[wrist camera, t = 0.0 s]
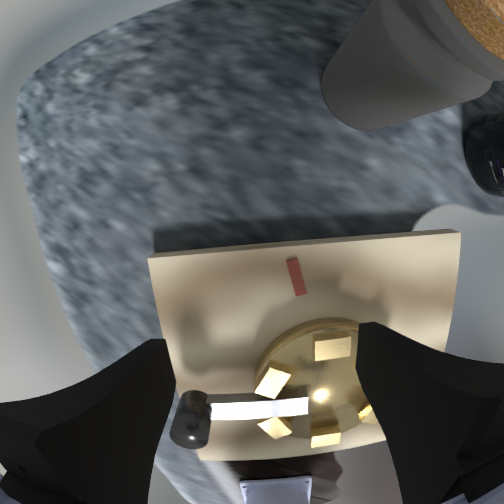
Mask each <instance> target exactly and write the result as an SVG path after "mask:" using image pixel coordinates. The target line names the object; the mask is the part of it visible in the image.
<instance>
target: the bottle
mask: <svg viewBox="0 0 504 504" xmlns="http://www.w3.org/2000/svg"><path fill="white" fill-rule="evenodd" d="M493 80H494V81H504V0H373V1H372V2H371V3H370V5H369V6H368V7H367V9H366V10H365V12H364V13H363V14H362V16H361V17H360V18H359V20H358V21H357V23H356V24H355V25H354V27H353V28H352V30H351V31H350V32H349V34H348V35H347V37H346V38H345V40H344V41H343V42H342V44H341V45H340V47H339V48H338V50H337V51H336V53H335V54H334V56H333V57H332V59H331V60H330V62H329V63H328V65H327V67H326V68H325V70H324V73H323V76H322V82H321V88H322V94H323V97H324V100H325V102H326V104H327V106H328V108H329V109H330V110H331V112H332V113H333V114H334V115H335V116H336V117H337V118H338V119H339V120H340V121H342V122H343V123H345V124H346V125H348V126H350V127H352V128H355V129H359V130H366V131H371V130H378V129H381V128H384V127H388V126H391V125H394V124H397V123H400V122H403V121H406V120H409V119H412V118H415V117H418V116H422V115H425V114H428V113H431V112H434V111H438V110H441V109H444V108H447V107H450V106H454V105H457V104H460V103H464V102H467V101H471V100H473V99H476V98H478V97H481V96H482V95H484V94H485V93H486V92H487V91H488V90H489V89H490V87H491V85H492V83H493Z"/></svg>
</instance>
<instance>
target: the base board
mask: <svg viewBox="0 0 504 504" xmlns="http://www.w3.org/2000/svg"><path fill="white" fill-rule="evenodd" d="M460 242H461V232H458V231H455V230H452V229H443V230H442V229H441V230H428V231H414V232H400V233H387V234H374V235H361V236H348V237H335V238H323V239H310V240H298V241H286V242H274V243H262V244H250V245H238V246H227V247H215V248H204V249H192V250H181V251H170V252H159V253H154V254H153V255H151V256H150V257H149V258H148V264H149V270H150V276H151V281H152V286H153V291H154V296H155V301H156V306H157V311H158V316H159V320H160V325H161V329H162V333H163V338H164V339H166V343H167V347H168V351H169V355H170V359H171V363H172V367H173V371H174V374H175V378H176V387H177V391H178V394H179V398H180V397H181V395H182V394H183V393H184V392H186V391H189V390H199V391H202V392H205V393H206V394H234V393H253V392H254V375H255V369H256V366H257V363H258V361H259V359H260V357H261V355H262V353H263V352H264V351H265V349H266V348H267V347H268V346H269V345H270V343H271V342H272V341H274V340H275V339H276V338H277V337H278V336H279V335H281V334H282V333H284V332H285V331H287V330H289V329H290V328H292V327H294V326H296V325H299V324H301V323H304V322H307V321H310V320H314V319H319V318H329V317H337V318H346V319H351V320H354V321H357V322H359V323H366V322H373V321H375V322H377V323H380V324H382V325H384V326H386V327H388V328H390V329H392V330H394V331H396V332H398V333H400V334H402V335H404V336H406V337H408V338H410V339H412V340H415V341H417V342H419V343H421V344H424V345H426V346H428V347H431V348H433V349H436V350H439V351H442V352H444V351H445V346H446V342H447V338H448V333H449V328H450V323H451V317H452V312H453V305H454V298H455V292H456V284H457V276H458V267H459V256H460ZM383 440H386V437H385V435H384V433H383V430H382V428H381V426H380V424H379V422H378V421H377V423H376V424H371V423H366V422H363V423H361V424H359V425H358V426H356V427H354V428H352V429H350V430H348V431H346V432H343V433H341V436H340V443H339V444H333V445H327V446H321V447H314V448H311V444H310V439H303V438H295V437H291V436H287V435H285V436H283V437H281V438H278V439H276V440H275V439H274V438H273V437H272V436H270V435H269V434H268V433H267V432H266V431H265V430H264V429H263V428H261V427H260V426H259V425H258V418H256V419H234V420H212V421H211V427H210V433H209V440H208V443H207V445H206V446H205V447H203V448H200V449H196V450H197V453H198V456H199V458H200V460H215V461H233V460H261V459H276V458H287V457H296V456H305V455H312V454H319V453H326V452H332V451H337V450H343V449H348V448H353V447H357V446H363V445H366V444H371V443H375V442H379V441H383Z"/></svg>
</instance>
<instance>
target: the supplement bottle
mask: <svg viewBox="0 0 504 504" xmlns="http://www.w3.org/2000/svg"><path fill="white" fill-rule="evenodd" d="M465 152H466V160H467V164H468V167H469V170H470V173H471V175H472V177H473V179H474V180H475V182H476V183H477V185H478V186H479V187H480V188H481V189H482V190H483V191H485V192H486V193H488V194H491V195H495V196H500V197H504V111H503V112H496V113H490V114H485V115H481V116H479V117H477V118H476V119H475V120H474V121H473V122H472V123H471V125H470V127H469V129H468V132H467V135H466V142H465Z"/></svg>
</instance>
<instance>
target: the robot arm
mask: <svg viewBox="0 0 504 504" xmlns="http://www.w3.org/2000/svg"><path fill="white" fill-rule="evenodd" d="M355 369H356V372H357V375H358V379H359V382H360V384H361V387H362V390H363V392H364V394H365V396H366V398H367V400H368V402H369V404H370V406H371V408H372V410H373V412H374V414H375V416H376V418H377V420H378V422H379V424H380V426H381V428H382V430H383V433H384V435H385V437H386V440H387V443H388V446H389V449H390V453H391V456H392V459H393V463H394V466H395V470H396V473H397V477H398V482H399V486H400V491H401V495H402V501H403V504H504V364H502V363H489V362H482V361H477V360H471V359H466V358H462V357H458V356H455V355H451V354H448V353H445V352H442V351H439V350H436V349H433V348H431V347H428V346H426V345H424V344H421V343H419V342H417V341H415V340H412V339H410V338H408V337H406V336H404V335H402V334H400V333H398V332H396V331H394V330H392V329H390V328H388V327H386V326H384V325H382V324H380V323H377V322H375V321H373V322H366V323H359V331H358V344H357V355H356V365H355ZM175 387H176V378H175V374H174V371H173V367H172V363H171V359H170V355H169V351H168V347H167V343H166V339H150V340H148V341H146V342H144V343H143V344H141V345H140V346H138V347H137V348H135V349H134V350H132V351H131V352H129V353H128V354H126V355H125V356H123V357H122V358H120V359H119V360H118V361H116V362H114V363H113V364H111V365H110V366H108V367H106V368H105V369H103V370H101V371H100V372H98V373H97V374H95V375H93V376H91V377H89V378H87V379H86V380H83V381H81V382H79V383H77V384H75V385H72V386H70V387H67V388H64V389H61V390H59V391H56V392H53V393H51V394H47V395H43V396H40V397H35V398H31V399H26V400H21V401H12V402H4V403H0V463H1V464H2V466H3V467H4V468H5V469H6V470H7V472H6V474H5V475H4V477H3V476H2V475H1V474H0V504H147V503H148V493H149V486H150V479H151V473H152V468H153V463H154V458H155V453H156V450H157V446H158V443H159V441H160V438H161V435H162V432H163V429H164V426H165V423H166V421H167V418H168V415H169V412H170V409H171V406H172V403H173V398H174V393H175ZM311 485H312V476H300V477H291V478H281V479H267V480H245V481H240V489H241V492H242V496H243V500H244V504H309V502H310V494H311Z"/></svg>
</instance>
